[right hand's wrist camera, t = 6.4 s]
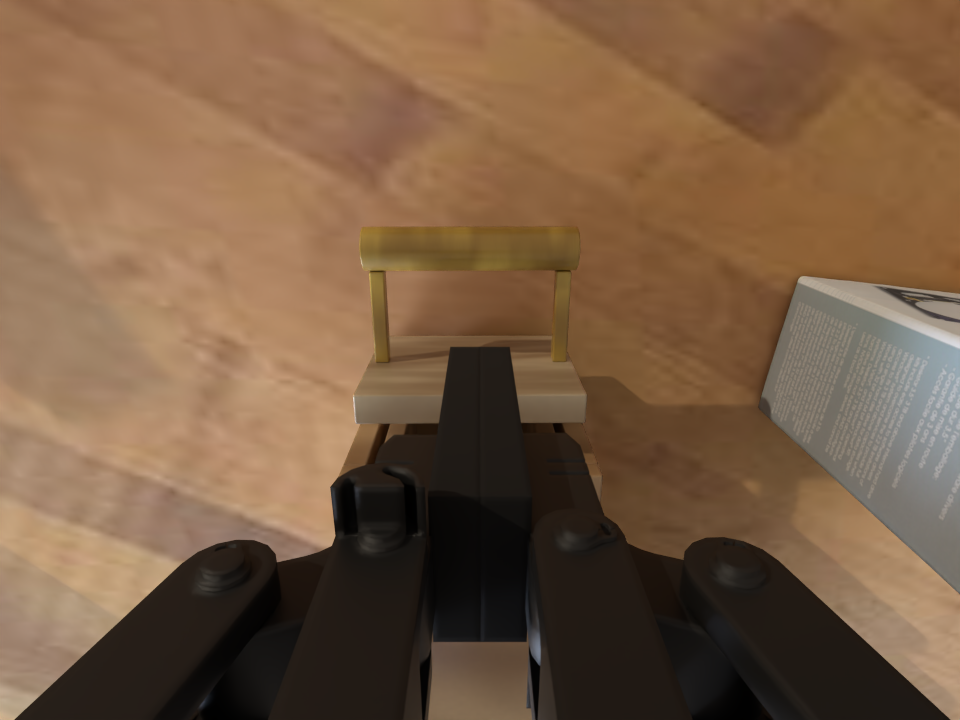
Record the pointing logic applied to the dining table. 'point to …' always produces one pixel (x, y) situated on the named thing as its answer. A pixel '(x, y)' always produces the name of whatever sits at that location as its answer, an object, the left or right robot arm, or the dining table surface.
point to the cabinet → (474, 665)
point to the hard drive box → (878, 403)
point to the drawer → (423, 359)
